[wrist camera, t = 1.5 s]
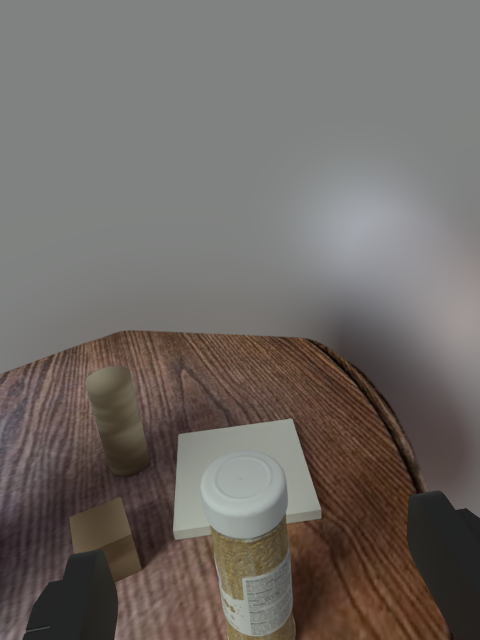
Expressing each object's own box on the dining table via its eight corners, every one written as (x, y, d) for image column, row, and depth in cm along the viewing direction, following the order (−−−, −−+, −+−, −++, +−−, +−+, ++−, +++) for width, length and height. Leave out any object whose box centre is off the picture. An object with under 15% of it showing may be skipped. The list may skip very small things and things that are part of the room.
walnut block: (88, 595, 32) (74, 558, 31) (81, 552, 36) (68, 517, 34) (142, 570, 34) (131, 533, 32) (130, 531, 37) (120, 496, 35)
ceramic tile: (175, 540, 36) (173, 531, 35) (180, 441, 47) (178, 434, 46) (321, 518, 36) (321, 509, 36) (292, 426, 47) (292, 418, 47)
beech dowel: (106, 479, 43) (80, 392, 38) (113, 451, 46) (90, 369, 42) (147, 473, 43) (126, 386, 39) (151, 445, 46) (132, 363, 42)
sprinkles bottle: (219, 612, 30) (190, 460, 25) (281, 588, 31) (267, 437, 26) (239, 686, 26) (211, 524, 21) (309, 655, 27) (301, 494, 22)
